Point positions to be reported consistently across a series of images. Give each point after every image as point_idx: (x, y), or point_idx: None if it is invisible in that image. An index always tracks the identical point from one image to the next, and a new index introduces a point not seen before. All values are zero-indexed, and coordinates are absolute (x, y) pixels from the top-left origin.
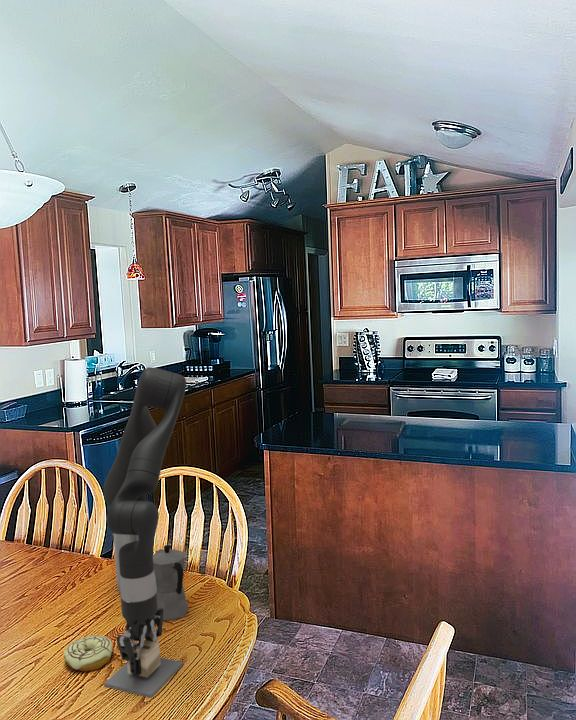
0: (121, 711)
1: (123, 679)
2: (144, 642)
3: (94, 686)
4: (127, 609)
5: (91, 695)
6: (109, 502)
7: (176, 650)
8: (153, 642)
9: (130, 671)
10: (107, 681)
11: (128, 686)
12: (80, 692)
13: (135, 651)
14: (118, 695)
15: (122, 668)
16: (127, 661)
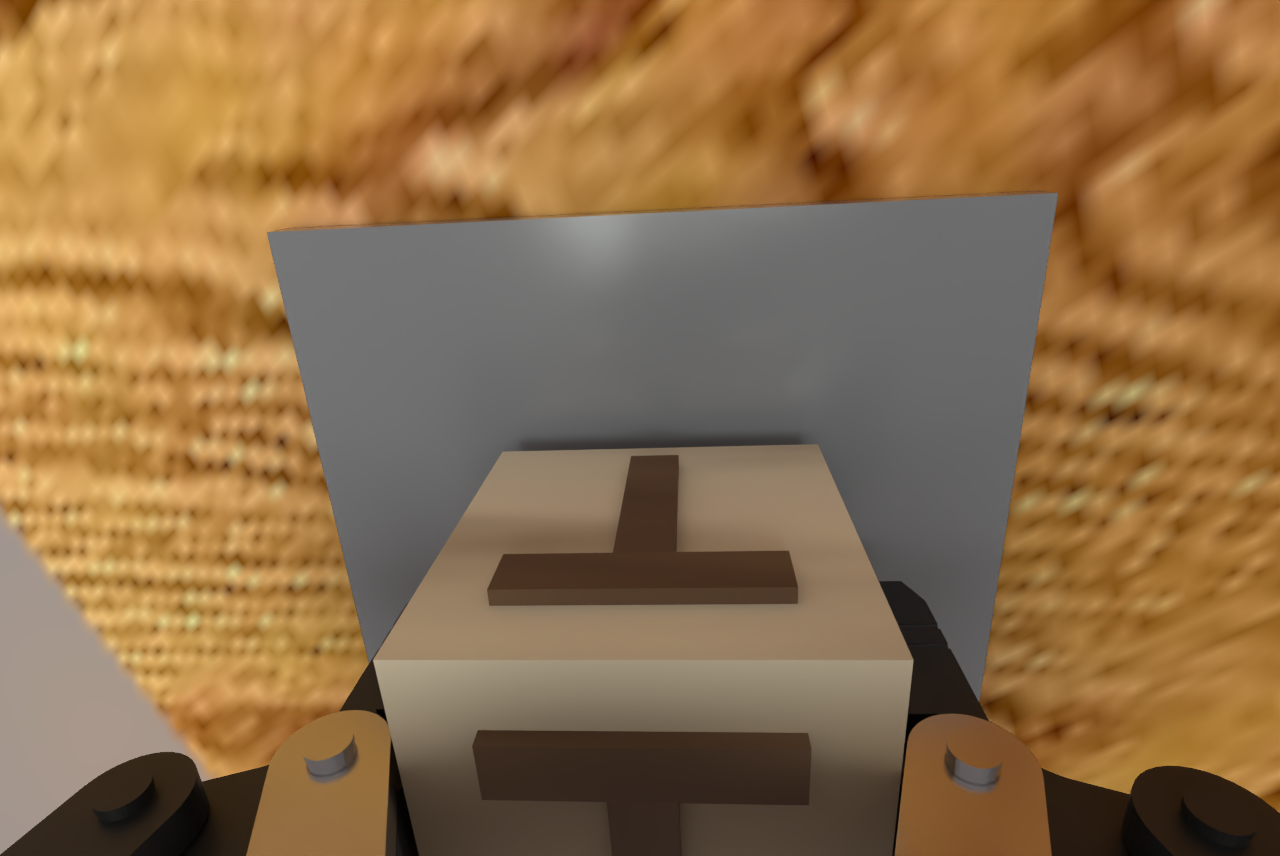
0: (138, 652)
1: (451, 412)
2: (806, 805)
3: (215, 100)
4: None
5: (87, 204)
6: None
7: (1226, 595)
8: None
9: (408, 602)
10: (317, 248)
11: (384, 542)
12: (26, 5)
13: (457, 820)
14: (270, 493)
15: (628, 241)
16: (452, 547)
